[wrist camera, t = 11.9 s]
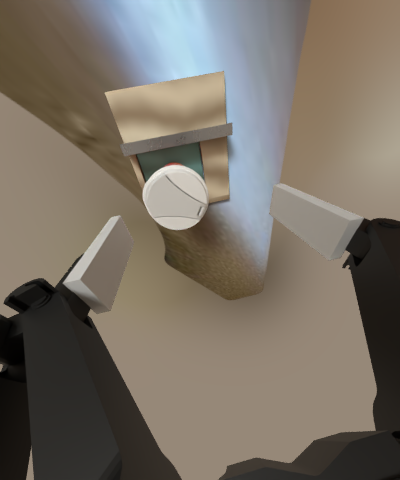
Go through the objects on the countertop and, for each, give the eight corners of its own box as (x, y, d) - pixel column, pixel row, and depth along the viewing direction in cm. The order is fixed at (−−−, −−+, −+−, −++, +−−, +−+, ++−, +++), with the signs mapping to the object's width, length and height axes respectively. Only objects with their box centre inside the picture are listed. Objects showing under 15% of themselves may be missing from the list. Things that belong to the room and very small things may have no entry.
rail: (124, 144, 25) (119, 144, 23) (226, 124, 26) (232, 122, 23) (128, 154, 26) (124, 156, 24) (226, 135, 27) (232, 134, 24)
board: (106, 93, 22) (104, 92, 21) (222, 73, 23) (224, 71, 22) (152, 214, 34) (152, 215, 33) (228, 197, 34) (229, 198, 34)
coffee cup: (201, 165, 30) (222, 183, 17) (187, 203, 33) (196, 239, 21) (159, 147, 27) (149, 152, 14) (149, 190, 30) (135, 223, 18)
